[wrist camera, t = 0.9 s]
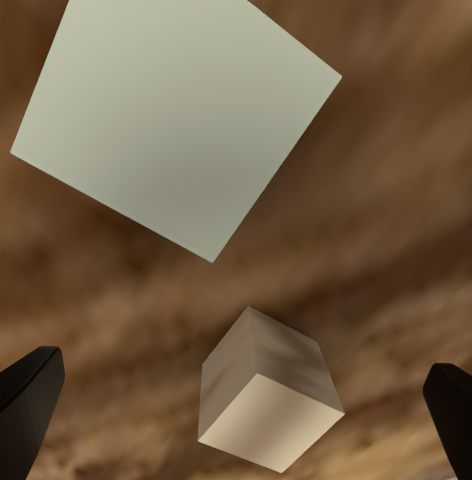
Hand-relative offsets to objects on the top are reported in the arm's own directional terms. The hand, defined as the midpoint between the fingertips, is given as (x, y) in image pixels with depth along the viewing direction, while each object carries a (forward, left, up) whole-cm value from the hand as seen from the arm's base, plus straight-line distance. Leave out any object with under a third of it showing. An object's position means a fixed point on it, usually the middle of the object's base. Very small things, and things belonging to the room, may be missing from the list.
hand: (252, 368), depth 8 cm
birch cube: (-8, +9, -13) cm, 17 cm away
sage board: (+5, -2, -13) cm, 14 cm away
